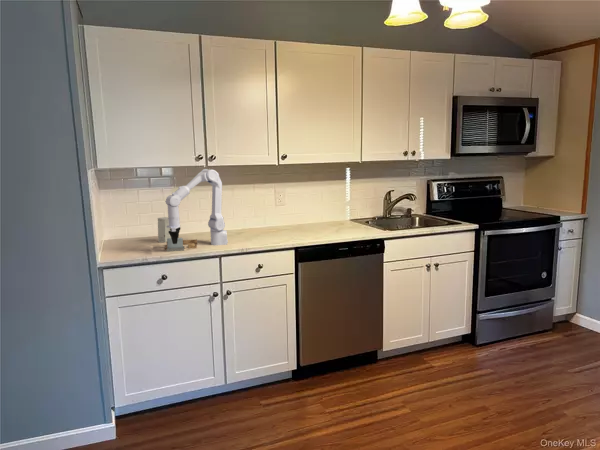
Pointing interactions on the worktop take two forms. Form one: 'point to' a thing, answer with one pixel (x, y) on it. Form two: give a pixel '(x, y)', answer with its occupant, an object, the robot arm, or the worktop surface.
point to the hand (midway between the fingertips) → (175, 242)
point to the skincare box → (163, 229)
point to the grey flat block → (178, 245)
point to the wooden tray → (187, 243)
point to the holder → (175, 249)
